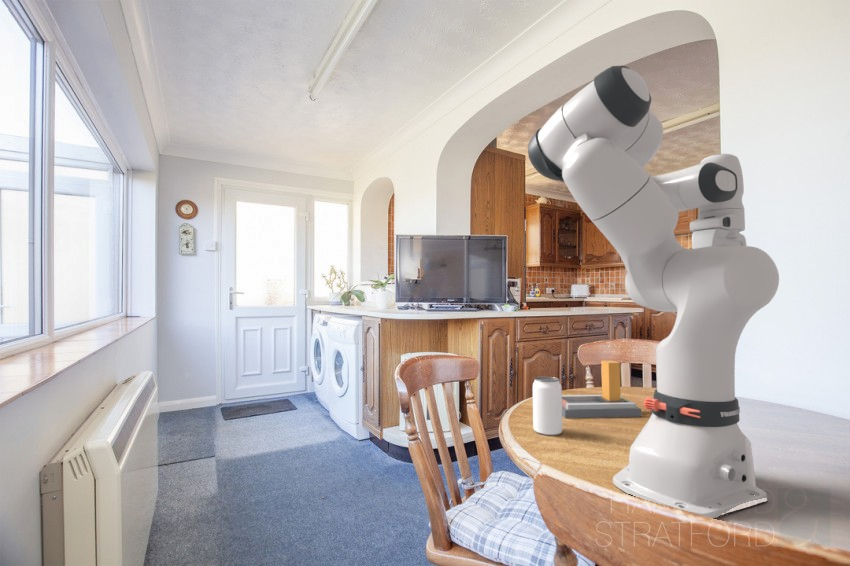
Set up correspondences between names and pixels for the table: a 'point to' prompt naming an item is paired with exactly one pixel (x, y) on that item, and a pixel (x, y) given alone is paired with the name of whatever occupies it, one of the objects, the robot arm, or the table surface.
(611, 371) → the handle
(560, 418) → the can
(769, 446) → the table surface
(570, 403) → the grey tray
